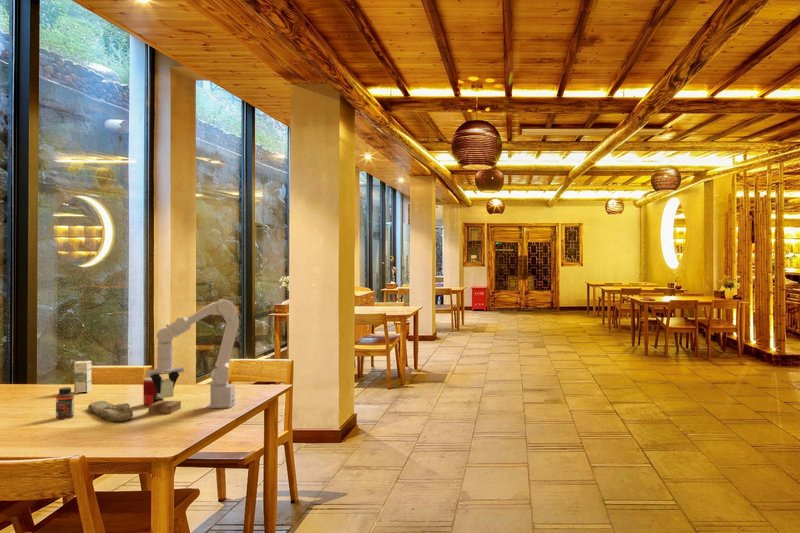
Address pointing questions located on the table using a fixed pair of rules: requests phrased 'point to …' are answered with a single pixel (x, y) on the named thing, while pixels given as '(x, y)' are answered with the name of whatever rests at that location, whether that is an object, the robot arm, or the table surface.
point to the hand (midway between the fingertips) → (164, 392)
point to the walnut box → (164, 407)
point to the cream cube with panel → (166, 388)
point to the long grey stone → (111, 411)
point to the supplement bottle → (64, 403)
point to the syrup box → (82, 376)
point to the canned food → (150, 392)
